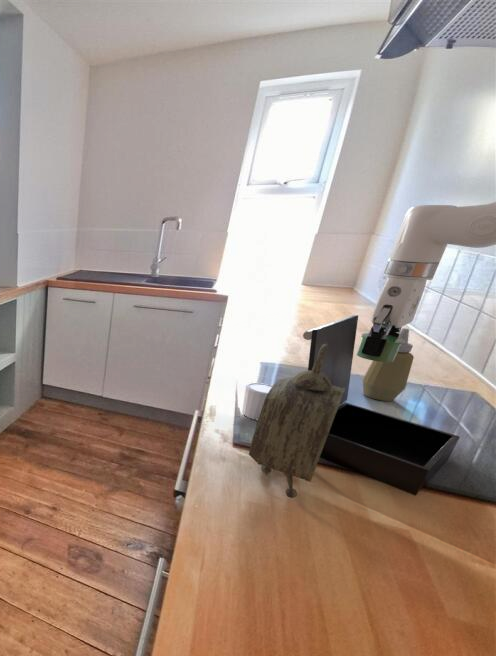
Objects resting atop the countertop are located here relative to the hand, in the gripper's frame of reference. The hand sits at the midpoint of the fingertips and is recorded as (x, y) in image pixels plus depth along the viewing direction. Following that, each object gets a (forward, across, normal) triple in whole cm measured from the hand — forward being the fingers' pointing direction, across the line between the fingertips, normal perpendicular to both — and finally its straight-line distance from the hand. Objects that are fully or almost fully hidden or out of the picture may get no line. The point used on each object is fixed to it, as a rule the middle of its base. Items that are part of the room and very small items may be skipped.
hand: (377, 351), depth 92 cm
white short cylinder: (+16, -21, +12) cm, 29 cm away
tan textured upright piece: (+15, -43, -2) cm, 46 cm away
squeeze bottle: (+15, +16, 0) cm, 22 cm away
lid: (0, -21, +1) cm, 21 cm away
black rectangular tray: (+15, -21, -9) cm, 28 cm away
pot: (+1, 0, 0) cm, 1 cm away
